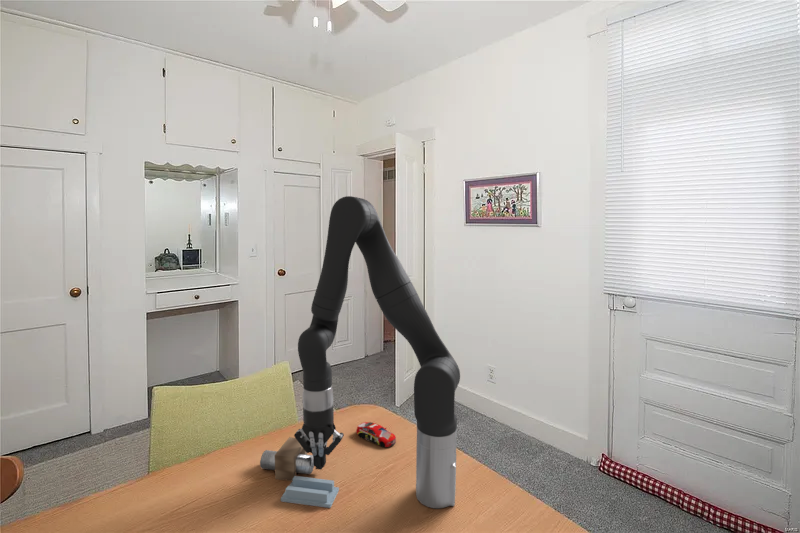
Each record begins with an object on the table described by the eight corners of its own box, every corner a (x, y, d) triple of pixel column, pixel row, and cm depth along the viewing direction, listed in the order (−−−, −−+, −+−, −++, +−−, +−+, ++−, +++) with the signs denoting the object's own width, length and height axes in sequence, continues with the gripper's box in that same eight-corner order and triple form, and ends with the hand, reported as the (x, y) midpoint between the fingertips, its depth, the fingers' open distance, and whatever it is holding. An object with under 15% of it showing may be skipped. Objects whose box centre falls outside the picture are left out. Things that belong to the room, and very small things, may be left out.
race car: (399, 443, 120) (399, 430, 120) (387, 451, 116) (388, 438, 115) (366, 428, 128) (366, 416, 127) (353, 435, 124) (353, 423, 123)
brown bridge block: (307, 461, 110) (306, 439, 109) (294, 481, 102) (293, 457, 101) (289, 459, 111) (289, 437, 110) (275, 479, 103) (274, 455, 102)
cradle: (338, 490, 99) (338, 479, 98) (330, 507, 93) (330, 496, 93) (291, 484, 101) (291, 474, 100) (280, 501, 95) (280, 490, 95)
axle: (315, 466, 108) (314, 451, 107) (308, 478, 104) (307, 462, 103) (269, 461, 110) (267, 446, 109) (260, 472, 106) (259, 456, 105)
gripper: (348, 398, 105) (349, 461, 108) (299, 394, 108) (301, 456, 110) (338, 412, 98) (340, 479, 100) (286, 407, 100) (289, 473, 103)
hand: (319, 467), depth 105 cm, fingers closed
